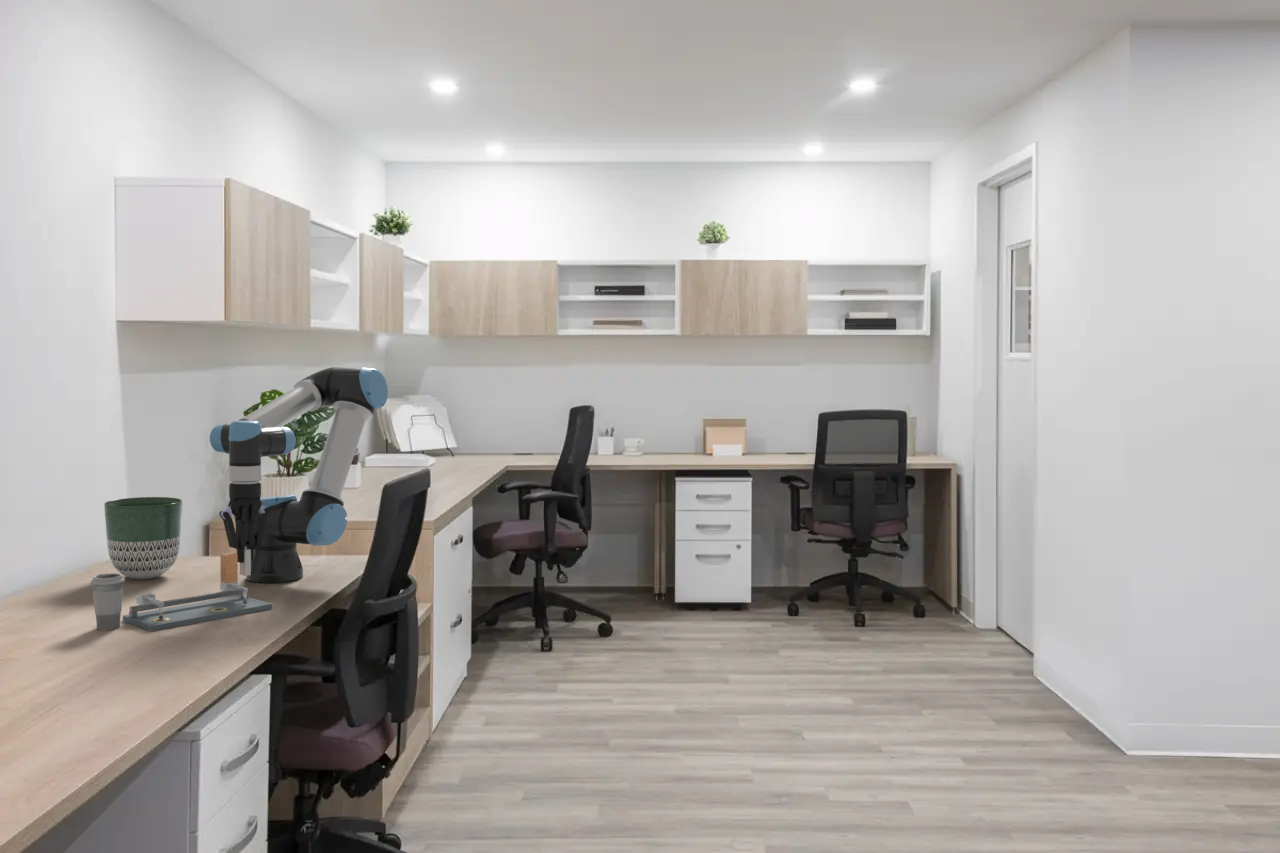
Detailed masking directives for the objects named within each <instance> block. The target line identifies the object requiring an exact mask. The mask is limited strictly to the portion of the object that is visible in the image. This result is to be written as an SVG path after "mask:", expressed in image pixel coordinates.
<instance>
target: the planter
mask: <svg viewBox="0 0 1280 853" xmlns="http://www.w3.org/2000/svg"><path fill="white" fill-rule="evenodd" d="M103 505H104V506H103V507H104V519H105V520H104V521H105V532H106V533H105V534H106V535H105V536H106V545H107V546H106V547H107V553H108V556H109V560H110V562H111V564H112V566H113V568H115V570H117V571H118V573H120V574H122V576H124V577H126V578H129V579H131V580H151V579H155V578H158V577H161V576H162V575H164V574H166V573H167V571H169V570H170V569H171V568H172V567H173V565H174V564H175V563H176V560H177V559H178V555H179V553H180V552H179V551H180V548H181V547H180V546H181V534H182V533H181V532H182V513H183V500H182V499H180V498H177V497H165V496H163V497H162V496H147V497H146V496H145V497H144V496H140V497H138V496H137V497H129V498H128V497H127V498H119V499H118V498H117V499H112V500H108V501H105V502H104V504H103Z"/></svg>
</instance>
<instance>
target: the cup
mask: <svg viewBox="0 0 1280 853" xmlns="http://www.w3.org/2000/svg"><path fill="white" fill-rule="evenodd" d="M123 576H124V575H123V574H121V573H120V572H109V573H107V572H106V573H99V574H95V575H93V577H92V579H91V581H90V584H91V585H92V586H93V589H92V595H93V596H92V597H93V606H94V614H95V621H96V629H97V630H99V631H112V630H115V629H116V630H117V629H119V628H120V627H121V614H122V610H123V609H122V608H123V595H124V594H123V592H124V587H123V583H124V582H125V581H126V579H125V576H124V577H123Z"/></svg>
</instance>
